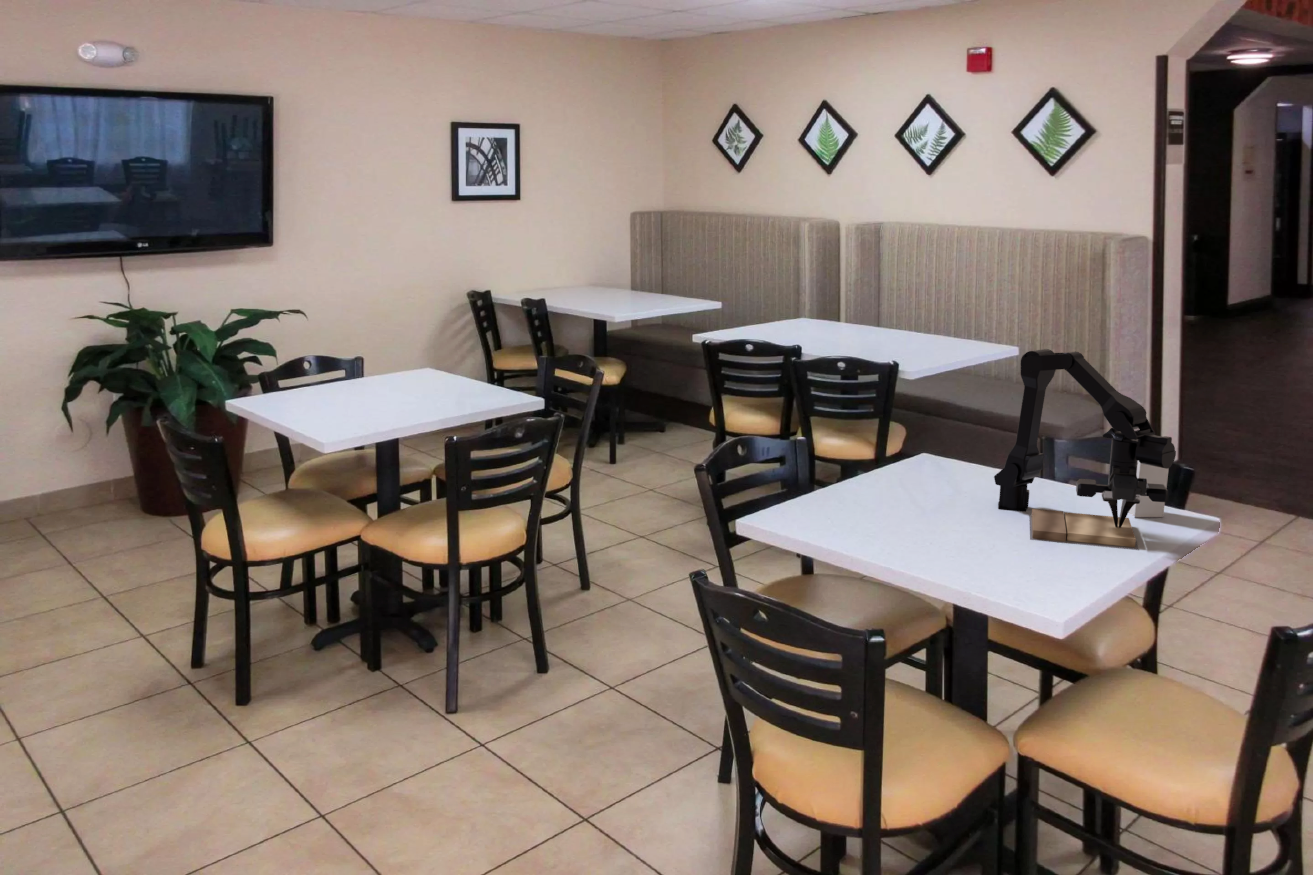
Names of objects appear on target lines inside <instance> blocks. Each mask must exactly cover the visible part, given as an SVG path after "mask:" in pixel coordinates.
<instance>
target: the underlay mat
mask: <svg viewBox="0 0 1313 875" xmlns="http://www.w3.org/2000/svg"><path fill="white" fill-rule="evenodd" d="M1028 518H1029V519H1028V520H1029V540H1031V541H1040V542H1049V543H1050V542H1052V543H1062V544H1071V545H1080V546H1081V545H1082V546H1092V547H1101V548H1112V549H1122V550H1123V549H1124V550H1135V551H1140V548H1139V546H1138V545H1139V544H1138V542H1137V541H1136V542H1135V547H1127V546H1117V545H1107V544H1097V543H1086V542H1076V541H1067V537H1066V542H1065V541H1055V540H1044V539H1034V538H1032V514H1029V517H1028Z"/></svg>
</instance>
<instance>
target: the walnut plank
mask: <svg viewBox="0 0 1313 875" xmlns="http://www.w3.org/2000/svg"><path fill="white" fill-rule="evenodd" d="M1031 515H1032V538H1034V539H1044V540H1055V541H1065V542H1066V527H1065V520H1064V515H1065V512H1064V511H1062V510H1053V509H1052V510H1050V509H1049V510H1048V509H1041V508H1040V509H1039V508H1031Z"/></svg>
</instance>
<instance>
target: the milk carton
mask: <svg viewBox="0 0 1313 875" xmlns="http://www.w3.org/2000/svg"><path fill="white" fill-rule="evenodd" d="M1169 469H1170V468H1168V469H1166V468H1161V467H1156V466H1151V465H1146V464H1141V463H1140V462H1139V460H1138V465H1137V478H1145V479H1147V483H1149V484H1163V485H1164V486H1165V487H1166V489H1167V488H1168V487H1167V486H1168V478H1169V477H1168V476H1169ZM1139 500H1140V503H1139V504H1134V505H1133V506H1132V508H1131V509H1130V510H1129V512H1128V514H1129V515H1131V514H1132V516H1133V517H1134V516H1135V517H1134V518H1163V517H1164V515H1165V514H1164V513H1165V504H1166V502H1153V501H1152V500H1151V499H1150V498H1149V496H1140V497H1139ZM1122 502H1123V499H1121V503H1120V504H1121V505H1120V508H1121V507H1122Z"/></svg>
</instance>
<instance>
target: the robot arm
mask: <svg viewBox="0 0 1313 875" xmlns="http://www.w3.org/2000/svg"><path fill="white" fill-rule="evenodd" d="M1057 370H1059V371H1060V370H1065V371H1066V372H1067V373H1068V374H1069V375H1070V376H1071V377H1072V378H1073V379H1074V381H1076V382H1077V384H1078V385H1079V386H1081V387H1082V389H1084V390H1085V391H1086V392H1087V393H1088V394H1089V396H1091V398H1093V400H1094V401H1095V402H1097V404H1098V405H1099V406H1100V408H1101V411H1102V414H1103V417H1104V419H1105V420H1106V421H1107V422H1108V423H1109V425H1110V428H1109V429H1108V430H1107V431H1106V432H1105V433H1103V434H1102V437H1103V439H1104V438H1105V439H1109V440H1111V446H1110V456H1109V457H1110V459H1109V468H1108V469H1109V470H1108V482H1107V484H1097V481H1096V479H1089V478H1085V479H1084V478H1079V479H1077V481H1076V485H1075V486H1076V487H1075V491H1076V496H1078V497H1088V498H1093V497H1094V496H1096V495H1097V494H1099V493H1100V494H1101V499H1102V501H1103V502H1107V503H1108V505H1109V508H1110V510H1111V514H1112V517H1113V519H1114V523H1115V527H1118V517H1119V528H1121V527H1122V524H1123V522H1124V520H1125V518H1127V516H1128V514H1129V513H1128V512H1129V510H1130V509H1131V508H1132V506H1133V505H1134V504H1139V503H1140V500H1139V497H1140V496H1149V498H1150V499H1151V500H1152V501H1153V502H1165V503H1168V498H1169V490H1168V489H1167V488H1166V487H1165V486H1164V485H1163V484H1149V483H1147V479H1145V478H1137V465H1138V460H1139V462H1140V463H1141V464H1146V465H1151V466H1156V467H1161V468H1166V469H1168V468H1169V469H1170V468H1171V467H1172V465H1173V464H1174V462H1175V460H1176V455H1177V451H1176V448H1175V445H1174V443H1173V438H1172V437H1171V436H1162V435H1156V431H1155V430H1154V428H1153V427H1152V425H1151V422H1150V421H1149V419H1148V417H1147V411H1146V409H1145V407H1144V406H1142V405H1141V404H1140V403H1138V402H1137V401H1135V400H1134V399H1133V398H1131V397H1129V396H1127V395H1125V394H1123V393H1121V392H1119V391H1118V390H1117V389H1116V388H1115V387H1113V385H1112V384H1111V383H1110V382H1109V381H1108V380H1107V379H1106V378H1105V377H1104V376H1103V375H1101V373H1100V372H1098V370H1097V369H1096V368H1094V366H1092V364H1090V363H1089V361H1088V360H1086V358H1085V356H1084V355H1083V353H1082V352H1079V351H1071V352H1070V351H1069V352H1054V351H1053V350H1051V349H1047V348H1043V349H1042V348H1041V349H1035V350H1029V351H1027V352H1025V353H1024V354H1022V356H1021V359H1020V377H1021V380H1022V383H1023V385H1024V386H1023V388H1024V389H1023V393H1022V401H1021V405H1020V406H1021V407H1020V413H1019V418H1018V419H1019V420H1018V426H1017V432H1016V437H1015V438H1016V439H1015V444H1014V445H1013V446H1012V449H1011V450H1010V451H1009V453H1008V455H1007V457H1006V460H1005V463H1004V466H1003V468H1002V469H1001V470H1000V471H998V472H997V473H996V474H994V476H993V478H994V483H995V485H996V486H999V498H998V502H997V509H998V510H1003V511H1012V512H1014V511H1015V512H1022V513H1023V512H1027V509H1028V508H1029V502H1030V501H1029V499H1030V489H1028V485H1029V484H1033V482H1034V480H1035V478H1036V477H1037V476H1039V474H1040V472H1041V471H1042V470H1044V468H1043V467H1044V466H1043V462H1044V459H1045V453H1043V452H1042V453H1041V452H1040V451H1039V448H1038V441H1039V440H1038V438H1039V434H1040V428H1041V427H1040V426H1041V421H1042V414H1043V408H1044V403H1045V396H1046V391H1047V387H1048V385H1049V384H1050V383H1051V382H1052V380H1053V379H1054V377H1055V375H1056V374H1055V373H1056V371H1057ZM1136 429H1138V430H1136ZM1122 499H1123V502H1122V501H1121V500H1122ZM1119 500H1120V501H1121V504H1122V507H1121V506H1120V513H1119V512H1118V511H1119V509H1118V501H1119ZM1118 513H1119V514H1118Z"/></svg>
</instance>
